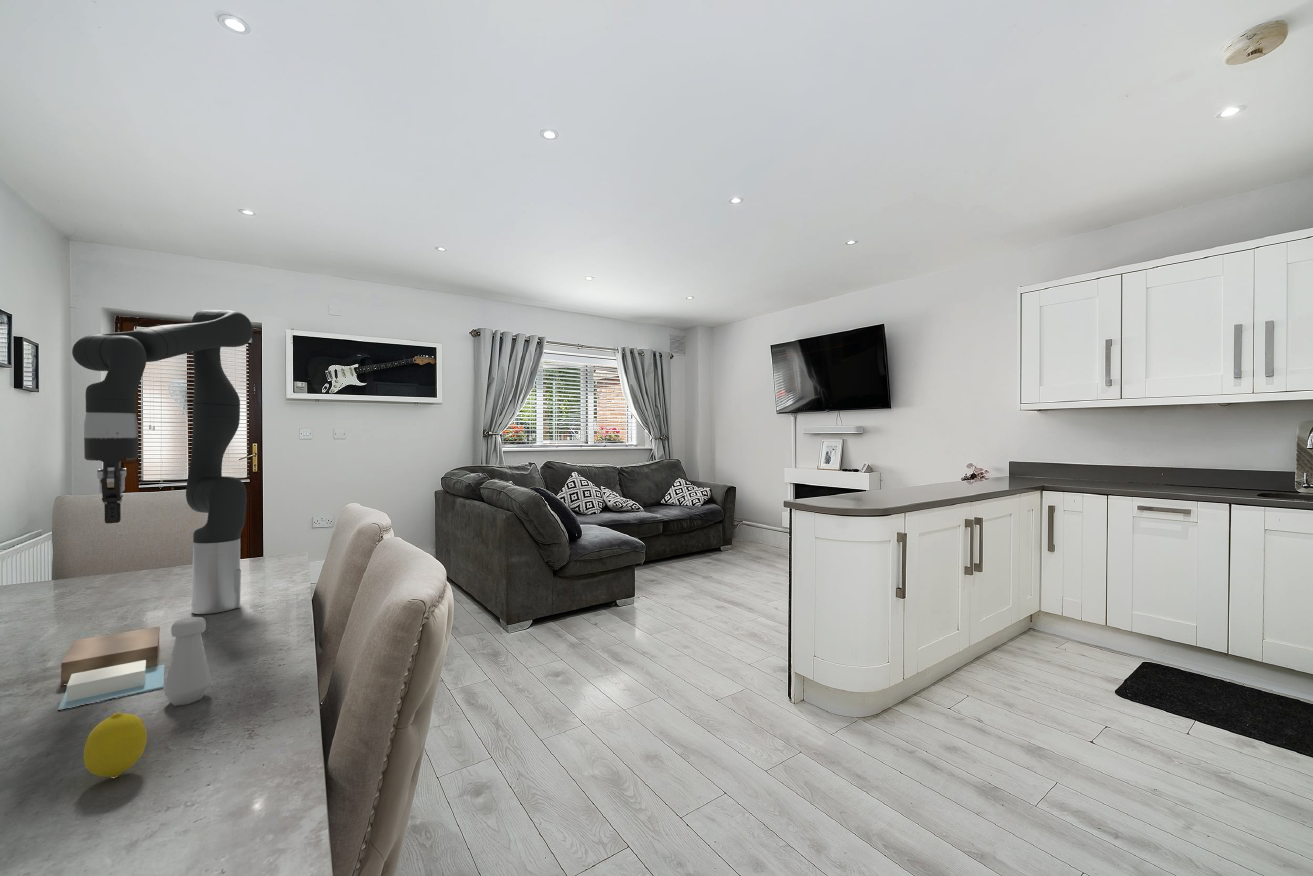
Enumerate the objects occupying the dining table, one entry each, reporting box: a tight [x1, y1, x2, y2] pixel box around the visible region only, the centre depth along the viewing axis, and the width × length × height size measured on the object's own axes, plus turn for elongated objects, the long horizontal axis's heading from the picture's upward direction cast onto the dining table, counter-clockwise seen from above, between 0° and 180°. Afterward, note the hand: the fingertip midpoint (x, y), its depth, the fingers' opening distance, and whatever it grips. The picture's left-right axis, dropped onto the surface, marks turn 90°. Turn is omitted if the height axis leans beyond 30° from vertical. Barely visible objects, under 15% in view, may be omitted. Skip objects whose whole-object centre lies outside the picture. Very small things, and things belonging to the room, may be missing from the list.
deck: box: [60, 626, 161, 686], centre depth 100 cm, size 12×14×4 cm
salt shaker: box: [163, 616, 212, 707], centre depth 87 cm, size 6×6×13 cm
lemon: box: [83, 711, 148, 778], centre depth 66 cm, size 6×6×8 cm
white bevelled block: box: [66, 660, 146, 702], centre depth 90 cm, size 9×6×2 cm, turn 133°
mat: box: [57, 664, 166, 711], centre depth 91 cm, size 12×12×1 cm
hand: (112, 522), depth 107 cm, fingers closed
